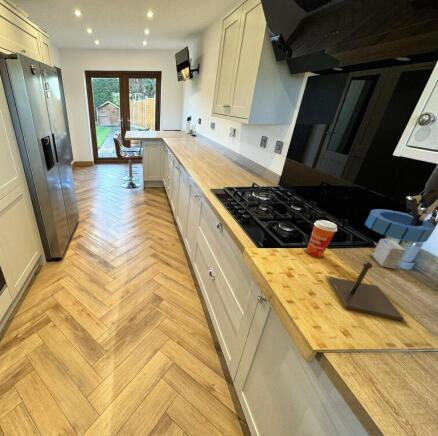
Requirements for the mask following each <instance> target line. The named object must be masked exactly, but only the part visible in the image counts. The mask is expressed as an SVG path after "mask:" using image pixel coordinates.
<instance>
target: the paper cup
mask: <svg viewBox="0 0 438 436" xmlns="http://www.w3.org/2000/svg"><path fill="white" fill-rule="evenodd" d="M313 225H314V226H313V228H312V232H311V235H310V238H309V241H308V244H307V246H306V247H307V248H306V253H307V254H308V255H310V256H311V257H314V258H321V257H323V255H324V253H325V252H326V250H327V248H328V246H329V244H330V242H331V241H332V239H333V237H334V235H335V233H336V232H338V225H337V224H336V223H334V222H332V221H329V220H324V219H319V220H316V221H315V222H313Z"/></svg>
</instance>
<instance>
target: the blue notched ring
mask: <svg viewBox="0 0 438 436" xmlns="http://www.w3.org/2000/svg"><path fill="white" fill-rule="evenodd" d="M366 218H367V219H366V220H365V222H364V225H365V226H366V227H367V228H368V229H370V230H372V231H373V232H376V233H377V234H380V235H383V236H385V237H389V238H392V239H396V240H399V241H400V240H401V241H403V242H410V243H424V242H428V240H429V238H431V235H432V234H433V233H434V231H435V229H436V227H435V226H434V224H432V223H430V222H428V221H427V219H424V220H423V221H424V222H423V223H422V225H421V226H412V225H410V223H411V222H412V220H413V218H414V217H413V216H411V215H409V214H408V213H407V212H402V211H399V210H395V211H394V210H393V209H383V208H381V209H380V208H377V209H371V210H370V212H369V214H368V216H367V217H366Z"/></svg>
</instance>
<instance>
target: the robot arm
mask: <svg viewBox="0 0 438 436" xmlns="http://www.w3.org/2000/svg"><path fill="white" fill-rule="evenodd" d="M405 204H406V214H409V215H411V216H413V217H414V218H413V220H412V222H411V223H410V225H412V226H421V225H422V223H423V222H424V221H423V220H427V221H428V222H430V223H432V224H434V226H435V228H436V227H437V226H438V163H437V164H436V166H435V168H434V170H433V171H432V173H431V174H430V177H429V178H428V179H427V182H426V183H425V185H424V189H423V190H422V191H421V192H420V193H419V194H418V195H414V196H411V195H407V196H405ZM418 204H419V205H418ZM428 215H430V216H429V218H427V217H428ZM426 218H427V219H426Z"/></svg>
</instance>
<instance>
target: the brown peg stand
mask: <svg viewBox="0 0 438 436" xmlns="http://www.w3.org/2000/svg"><path fill="white" fill-rule="evenodd" d="M362 266H363V267H362V269H361V270H360V273H359V274H358V276H357V278H356V280H349V279H344V278H339V277H334V276H329V278H328V280H329V282H330V284H331V286H332V288H333V289H334V292H336V294H337V296H338V298H339V300H340V301H341V303H342V305H343V306H344V308H345V309H347V310H351V311H356V312H360V313H364V314H369V315H373V316H377V317H382V318H386V319H391V320H396V321H400V322H403V320H404V319H405V318H404V317H403V315H402V314H401V312H399V310H398V308H396V307H395V306H394V304H393V303H392V301H390V300H389V298H388V297H387V296H386V294H385V293H384V291H382V289H381V288H380V287H379V286H378V285H375V284H374V285H373V284H368V283H363V280H364V278H365V277H366V275H367V273H368V271H369V269H372V268H373V264H372V263H371V262H369V261H365V262H363V263H362Z"/></svg>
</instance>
